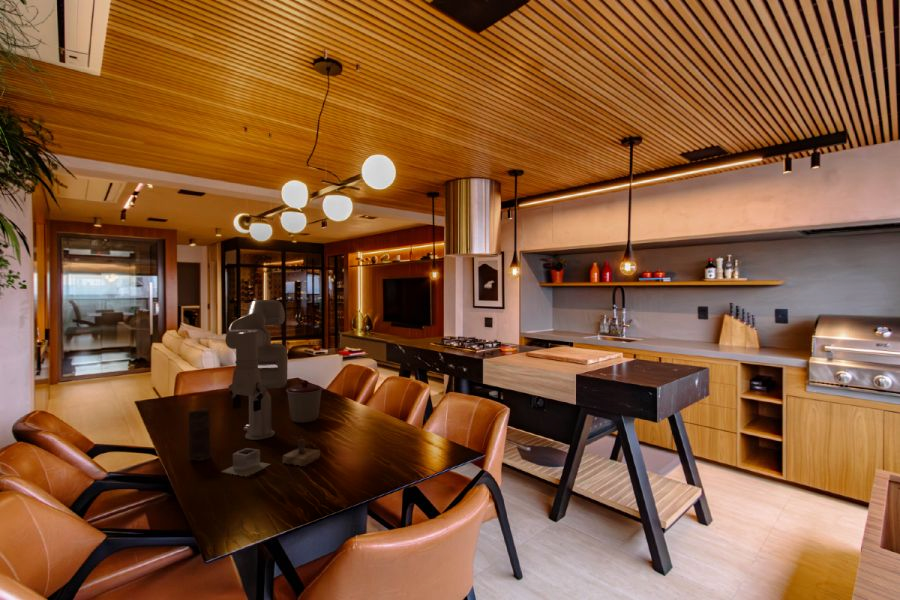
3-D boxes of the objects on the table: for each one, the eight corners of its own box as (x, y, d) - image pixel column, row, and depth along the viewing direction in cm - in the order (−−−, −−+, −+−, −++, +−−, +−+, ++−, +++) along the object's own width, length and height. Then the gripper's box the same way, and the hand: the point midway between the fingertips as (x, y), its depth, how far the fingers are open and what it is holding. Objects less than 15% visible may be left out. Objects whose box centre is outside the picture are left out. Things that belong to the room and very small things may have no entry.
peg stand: (282, 463, 168) (282, 442, 168) (299, 454, 178) (299, 435, 178) (303, 466, 165) (303, 445, 165) (320, 457, 174) (320, 437, 174)
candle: (187, 463, 167) (187, 412, 167) (189, 457, 174) (189, 408, 174) (210, 460, 171) (210, 410, 171) (210, 454, 177) (210, 406, 177)
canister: (308, 413, 239) (308, 375, 239) (329, 419, 229) (329, 379, 228) (279, 421, 224) (279, 381, 224) (300, 427, 214) (300, 385, 214)
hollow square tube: (232, 469, 161) (232, 453, 161) (246, 463, 167) (246, 447, 167) (246, 472, 159) (246, 455, 159) (260, 465, 165) (260, 449, 165)
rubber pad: (221, 472, 159) (221, 471, 159) (246, 460, 171) (246, 459, 171) (246, 477, 155) (246, 476, 155) (270, 465, 167) (270, 463, 167)
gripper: (221, 364, 163) (221, 409, 163) (257, 367, 157) (257, 414, 157) (237, 361, 170) (237, 404, 170) (272, 364, 164) (272, 409, 164)
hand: (247, 409), depth 163 cm, fingers open, 9 cm apart
